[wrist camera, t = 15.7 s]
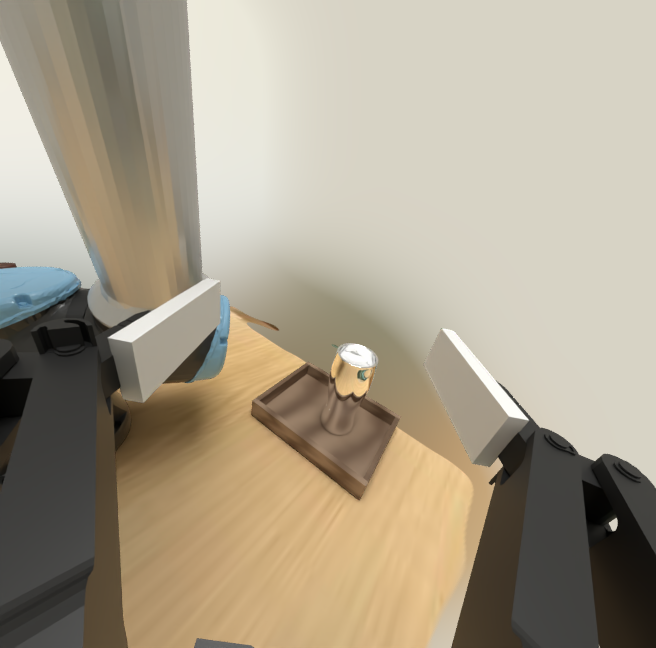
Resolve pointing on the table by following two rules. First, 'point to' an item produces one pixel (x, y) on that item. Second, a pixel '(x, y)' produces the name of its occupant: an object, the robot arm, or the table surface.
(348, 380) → the beer glass
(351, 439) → the walnut tray
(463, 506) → the table surface
